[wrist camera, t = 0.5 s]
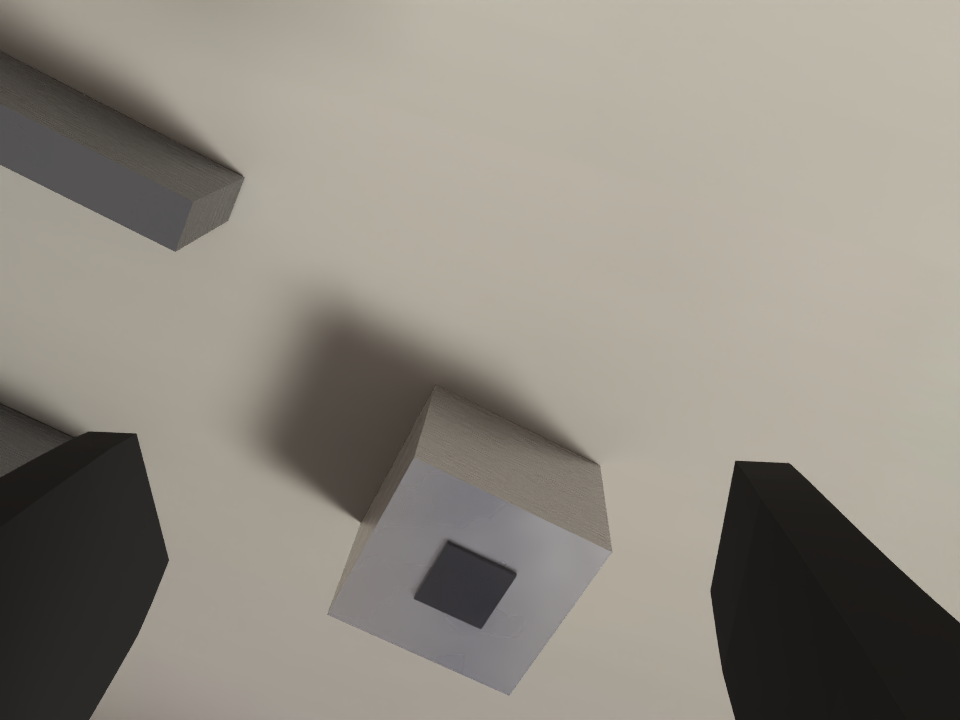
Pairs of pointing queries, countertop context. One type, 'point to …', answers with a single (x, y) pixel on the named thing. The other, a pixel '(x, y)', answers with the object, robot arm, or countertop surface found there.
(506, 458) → the block
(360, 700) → the countertop surface
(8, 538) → the robot arm
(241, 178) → the bracket
